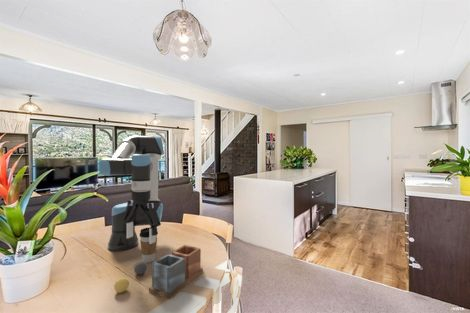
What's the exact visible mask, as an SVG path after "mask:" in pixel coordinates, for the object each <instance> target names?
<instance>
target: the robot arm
mask: <svg viewBox="0 0 470 313" xmlns="http://www.w3.org/2000/svg"><path fill="white" fill-rule="evenodd" d="M163 145H164V144H163V138H162V136H160V135H138V134H137V135H131V136H129V137H126V138H124V139H122V140H121V141H120V142H119V143H118V145H117V148H116V149H115V151H114V152H113V154H112V155H111V156H110V157H109V158H100V159H99V162H98V172H99V174H100V175H102V176H130V175H131V194H130V196H131V197H130V198H131V199H130V200H127V202H124V203H119V204H116V205H114V206H113V207H112V209H111V216H110V217H111V235H110V237H109V240H108V243H107V249H108V250H110V251H114V252H115V251H116V252H118V251H119V252H120V251H126V250H129V249H133V248H135V247H137V245H139V238H138V236H137V233H136V229H135V228H136V227H141V226H143V227H144V226H149V227H148V228H149V244H152V243H154V242H156V234H157V232H158V227H160V226H161V225H162V223H161V221H162V216H163V208H164V204H163V203H161V199H159V170H160V169H159V168H160V167H159V166H160V164H159V161H160V159H161V158H162V156H163V155H164V154H165V152H164V146H163ZM157 235H158V234H157Z"/></svg>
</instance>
